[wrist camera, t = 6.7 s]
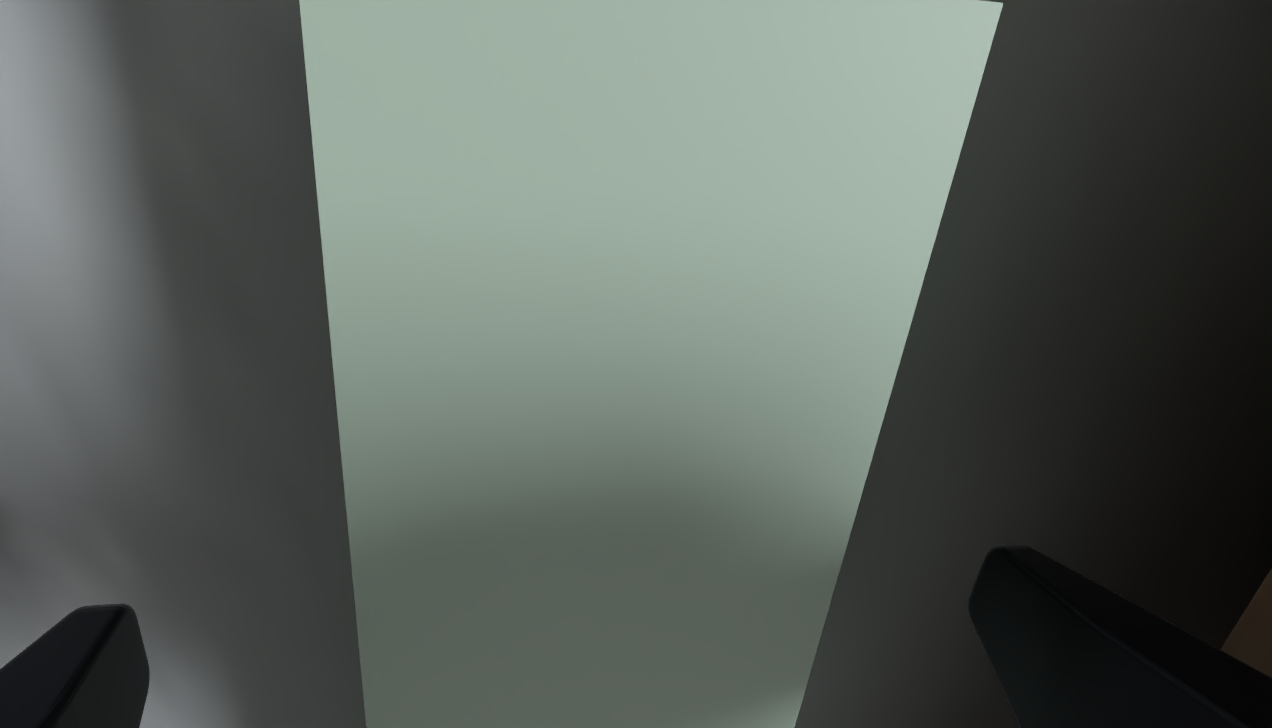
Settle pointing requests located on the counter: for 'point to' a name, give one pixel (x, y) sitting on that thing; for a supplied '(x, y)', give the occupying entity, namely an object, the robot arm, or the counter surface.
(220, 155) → the counter surface
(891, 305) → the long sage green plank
